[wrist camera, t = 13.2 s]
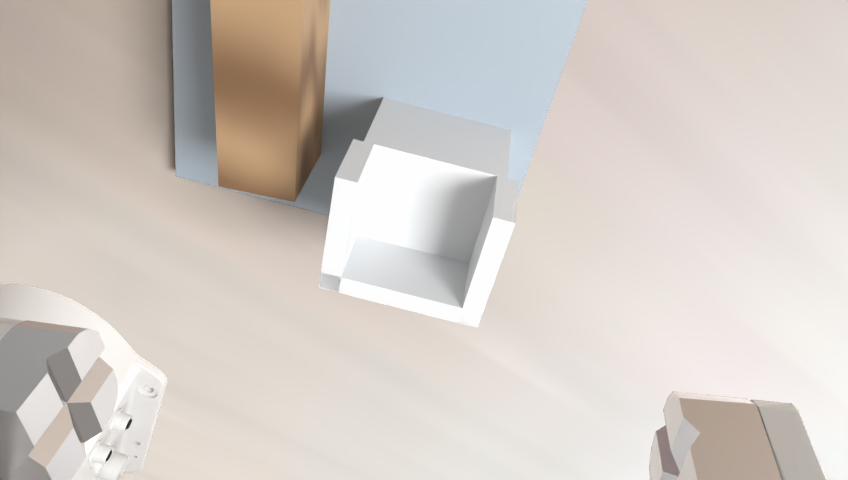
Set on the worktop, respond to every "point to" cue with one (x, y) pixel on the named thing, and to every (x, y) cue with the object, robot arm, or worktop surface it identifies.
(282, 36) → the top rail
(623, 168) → the worktop surface
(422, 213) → the grey base with supports
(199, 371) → the worktop surface
